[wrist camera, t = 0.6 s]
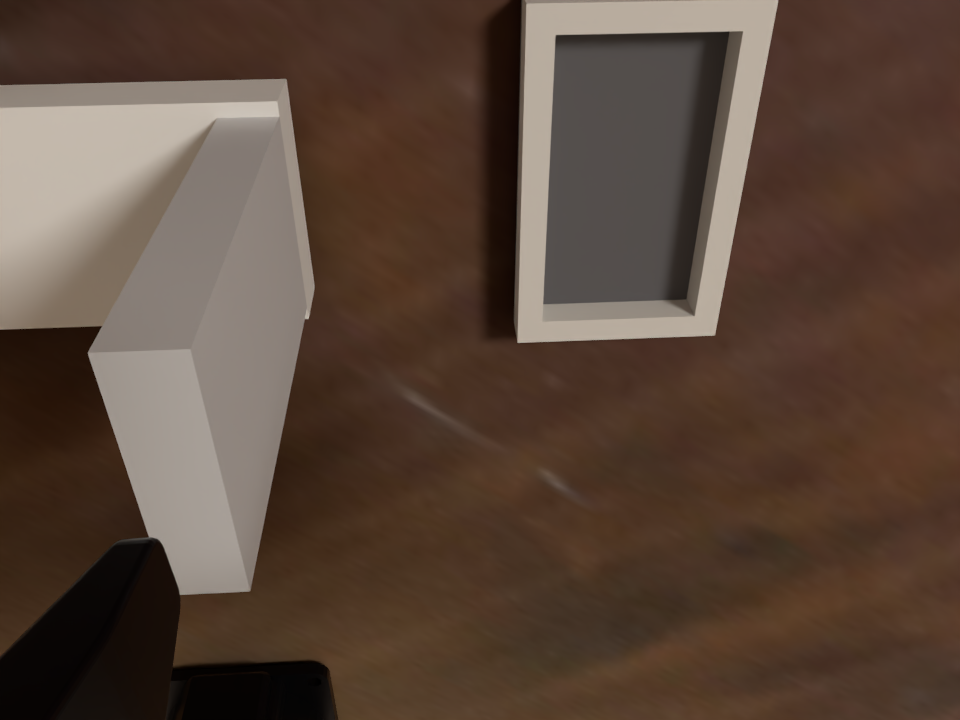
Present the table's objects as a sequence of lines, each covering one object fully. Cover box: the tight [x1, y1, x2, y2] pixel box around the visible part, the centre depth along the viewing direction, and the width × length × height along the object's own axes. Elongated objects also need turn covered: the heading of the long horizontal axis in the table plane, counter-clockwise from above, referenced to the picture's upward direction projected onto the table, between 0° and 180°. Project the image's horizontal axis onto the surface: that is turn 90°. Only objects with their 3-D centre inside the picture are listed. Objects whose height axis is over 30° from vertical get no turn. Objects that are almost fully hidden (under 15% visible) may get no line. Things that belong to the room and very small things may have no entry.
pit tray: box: [514, 0, 778, 343], centre depth 19 cm, size 8×5×1 cm, turn 0°
